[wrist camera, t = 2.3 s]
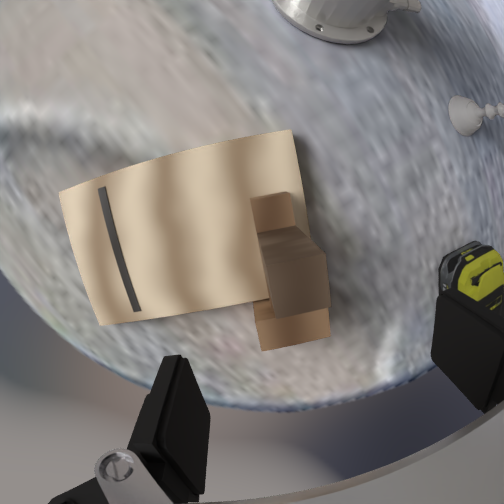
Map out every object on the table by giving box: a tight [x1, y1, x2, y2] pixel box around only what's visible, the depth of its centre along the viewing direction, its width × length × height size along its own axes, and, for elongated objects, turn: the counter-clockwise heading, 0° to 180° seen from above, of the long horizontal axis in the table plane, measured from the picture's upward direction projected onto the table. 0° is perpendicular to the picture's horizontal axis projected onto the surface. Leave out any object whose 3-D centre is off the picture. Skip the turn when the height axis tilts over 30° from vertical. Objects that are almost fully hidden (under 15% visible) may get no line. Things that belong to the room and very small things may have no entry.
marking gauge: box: [249, 191, 331, 351], centre depth 21 cm, size 6×12×12 cm, turn 11°
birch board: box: [59, 130, 311, 326], centre depth 25 cm, size 22×14×2 cm, turn 101°
